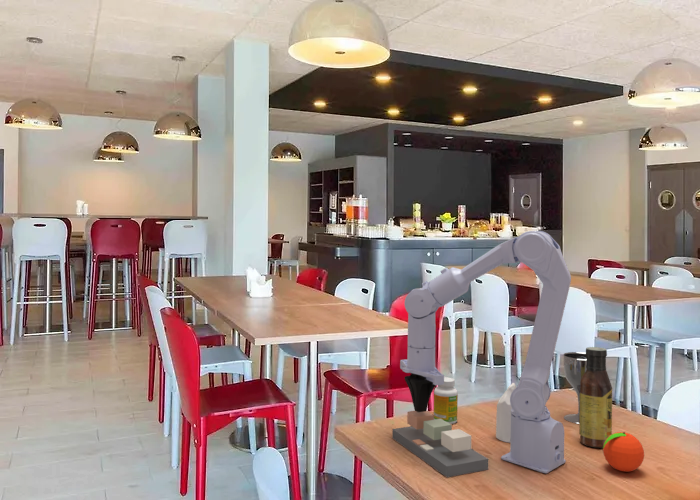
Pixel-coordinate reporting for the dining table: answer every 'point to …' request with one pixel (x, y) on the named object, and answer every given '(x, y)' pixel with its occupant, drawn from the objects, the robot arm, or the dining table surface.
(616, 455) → the clementine
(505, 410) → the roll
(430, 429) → the sage key
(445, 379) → the supplement bottle
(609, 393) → the sauce bottle
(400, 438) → the grey key panel base
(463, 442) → the cream key
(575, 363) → the wine glass
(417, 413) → the terracotta key
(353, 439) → the dining table surface
